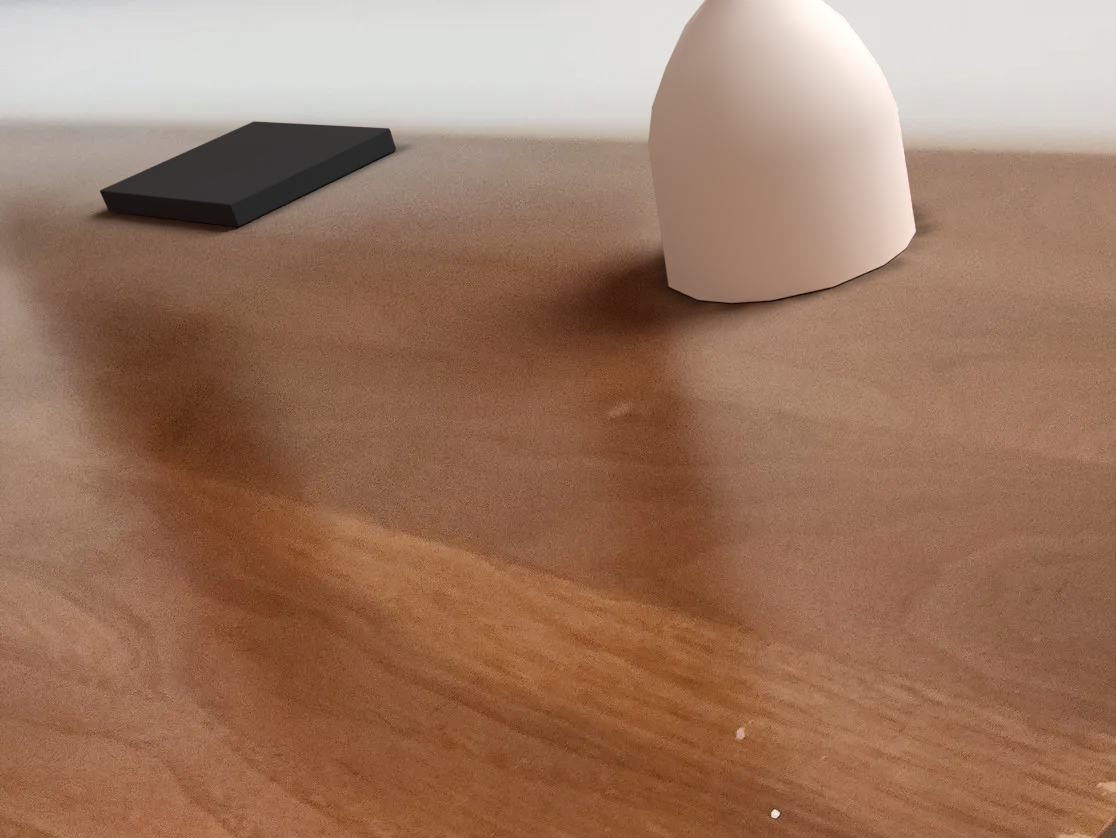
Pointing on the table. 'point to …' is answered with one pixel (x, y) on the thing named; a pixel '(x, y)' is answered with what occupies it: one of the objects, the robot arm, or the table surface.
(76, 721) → the table surface
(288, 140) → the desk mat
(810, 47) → the teardrop
